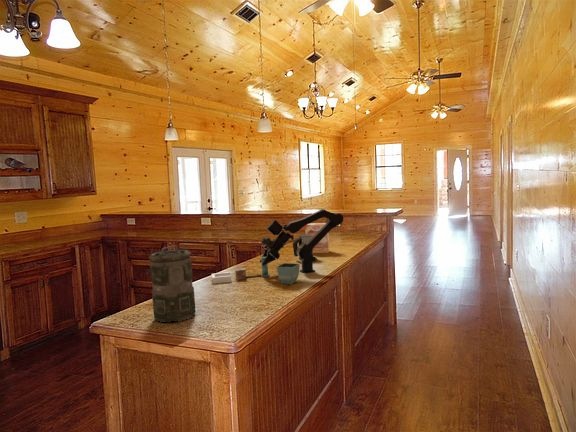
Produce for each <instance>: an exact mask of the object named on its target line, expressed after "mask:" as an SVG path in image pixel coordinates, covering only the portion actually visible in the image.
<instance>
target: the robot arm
mask: <svg viewBox="0 0 576 432" xmlns="http://www.w3.org/2000/svg"><path fill="white" fill-rule="evenodd" d="M323 218H326V219H327V221H326V222H325V223H326V224H325V225H324V226H323V227H322V228H321V229H320V230H319V231H318V232H317V233H316V234H315V235H314V236H313V237H312V238H311V239H310V240H309V241H308V242H307V243H304V242H302V243H301V245H300V246H299V245H297V246H298V249H297V255H298V256H297V257H298V258H299V257H300V258H301V259H300V260H301V269H299V273H300V272H301V273H304V274H308V273H312V272H313V273H314V272H316V270H315V269H314V266H313V265H314V264H313V262H314V261H313V259H314V257H315V256H314V255H313V256H311V255H310V254H311V252H312V250H313V248H314V247H315V246H316V245H317V244H318V243H319V242H320V241H321V240H322V239H323V238H324V237H325V235H326V234H327V233H328V234H329V232H331V230H333V229H335V228H337V227H338V226H339V225H341V224H342V223H343V222H344V216H343V215H342V213H339V212H330V211H328V210H326V209H324V208H321V209H319V210H317V211H315V212H313V213H311V214H309V215H307V216H304V217H302V218H301V219H300V218H299V219H295V220H291V221H289V222H287V224H283V225H281V224H280V223H279V221H277V220H276V219H273V221H271V222H270V223H269V224H268V225H267V226H266V230H267V231H268V232H269V233H271V235H273V236H274V237H275V236H277V237H276V238H273V239H271V238H270V237H265V236H262V238H261V241H260V244H263V245H264V246H263V254H262V256H261V257H266V258H265V260H264V261H263V263H261V259H260V260H259V263H261V266H262V265H263V266H264V265H266V264H269V263H271V262H273V261H276V260H279V259H280V258H281V254H280V251H281V250H282V249H284V248H285V245H286V244H287V242H288V241H289V240H292V241H294V240H295V239H294V234H297V233H298V232H299V231H300V230H302V229H303V228H305V225H307V224H311V223H314V222H316V221H318V220H320V219H323Z"/></svg>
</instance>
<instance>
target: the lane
mask: <svg viewBox="0 0 576 432" xmlns="http://www.w3.org/2000/svg"><path fill="white" fill-rule="evenodd" d="M211 280H212V281H211V282H212V284H223V283H224V284H225V283H231V282H232V275H231V271H226V272H225V271H224V272H217V273H215V272H214V273H211Z"/></svg>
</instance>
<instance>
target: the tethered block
mask: <svg viewBox="0 0 576 432" xmlns="http://www.w3.org/2000/svg"><path fill="white" fill-rule="evenodd" d="M265 258H266V257H262V256H261V257H260V260H261V262H260V263H261V274H257V275H255V274H254V275H247V270H246V268H245V267H241V268H235V269H234V272H235V279H236V281H240V280H247V278H248V279H249V278H258V277H261V278H267V277H270V275H271V274H270V273H269V267H268V264H269V263H268V264H266V265H264V266H263V265H262V263H263V261H264V260H265Z"/></svg>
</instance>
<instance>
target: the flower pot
mask: <svg viewBox="0 0 576 432" xmlns="http://www.w3.org/2000/svg"><path fill="white" fill-rule="evenodd" d="M276 272H277V275H278V279H279V281H280V282H281V284H282V285H292V284H294V283H296V282H297V280H298V278H299V275H300V263H290V262H289V263H287V262H286V263H284V262H283V263H281V264H279V265H277V266H276Z"/></svg>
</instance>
